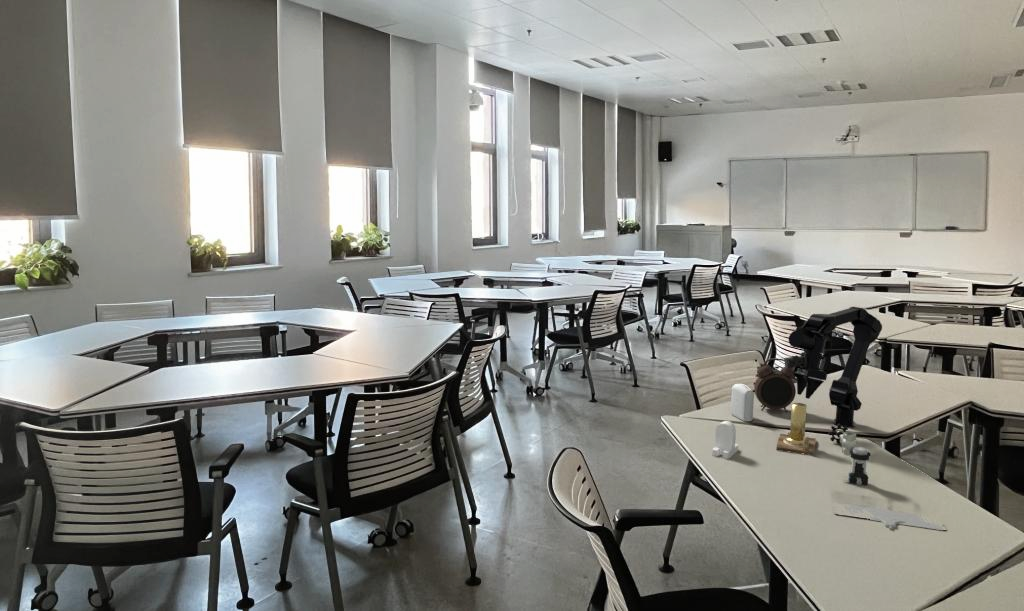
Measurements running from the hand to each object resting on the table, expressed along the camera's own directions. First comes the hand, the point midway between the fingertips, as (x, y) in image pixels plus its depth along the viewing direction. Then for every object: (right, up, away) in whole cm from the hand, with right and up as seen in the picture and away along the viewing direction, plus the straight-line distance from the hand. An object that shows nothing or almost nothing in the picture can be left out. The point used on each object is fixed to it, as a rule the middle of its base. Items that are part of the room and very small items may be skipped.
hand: (803, 396), depth 239 cm
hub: (-6, -13, -9) cm, 17 cm away
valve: (+8, -16, -13) cm, 22 cm away
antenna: (-2, -23, -56) cm, 61 cm away
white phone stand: (-31, -16, -15) cm, 38 cm away
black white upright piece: (-1, -20, -39) cm, 44 cm away
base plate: (-6, -15, -10) cm, 19 cm away
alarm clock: (0, -9, +28) cm, 29 cm away
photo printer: (-15, -10, +19) cm, 26 cm away
